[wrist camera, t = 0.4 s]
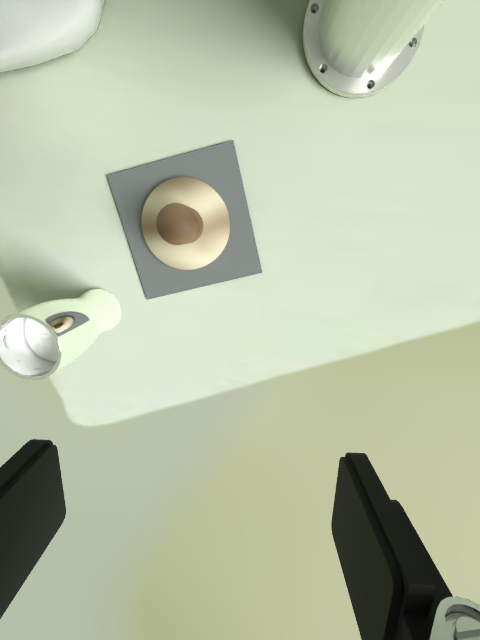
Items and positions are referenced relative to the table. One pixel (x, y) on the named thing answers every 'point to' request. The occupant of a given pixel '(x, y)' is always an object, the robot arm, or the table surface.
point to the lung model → (44, 29)
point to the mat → (225, 179)
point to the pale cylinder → (55, 333)
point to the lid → (185, 223)
